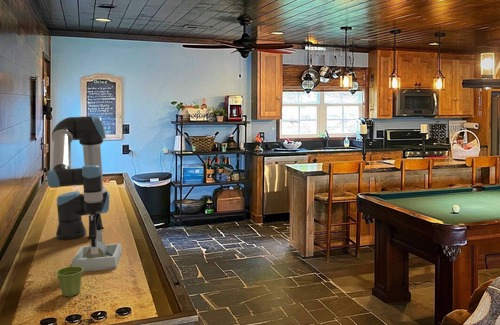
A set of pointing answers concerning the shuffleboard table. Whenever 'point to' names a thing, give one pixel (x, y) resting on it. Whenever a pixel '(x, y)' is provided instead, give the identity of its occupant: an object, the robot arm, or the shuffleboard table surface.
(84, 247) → the bin
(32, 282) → the shuffleboard table surface
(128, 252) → the shuffleboard table surface
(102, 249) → the ceramic mug
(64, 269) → the plant pot
